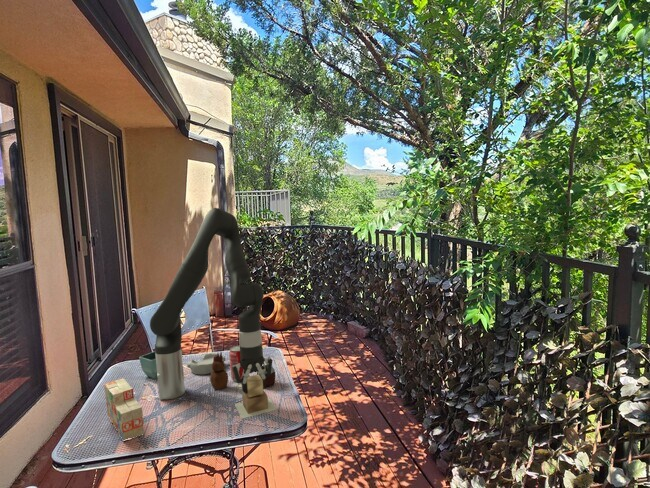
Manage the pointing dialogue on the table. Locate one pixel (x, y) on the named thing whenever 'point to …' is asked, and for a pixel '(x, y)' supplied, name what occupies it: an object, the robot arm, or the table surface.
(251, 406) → the walnut brick
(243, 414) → the build board
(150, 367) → the flower pot
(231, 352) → the soda can
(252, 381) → the maple brick
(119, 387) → the stack of blocks
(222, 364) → the wooden figurine
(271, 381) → the mate gourd
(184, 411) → the table surface
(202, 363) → the dish
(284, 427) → the table surface
